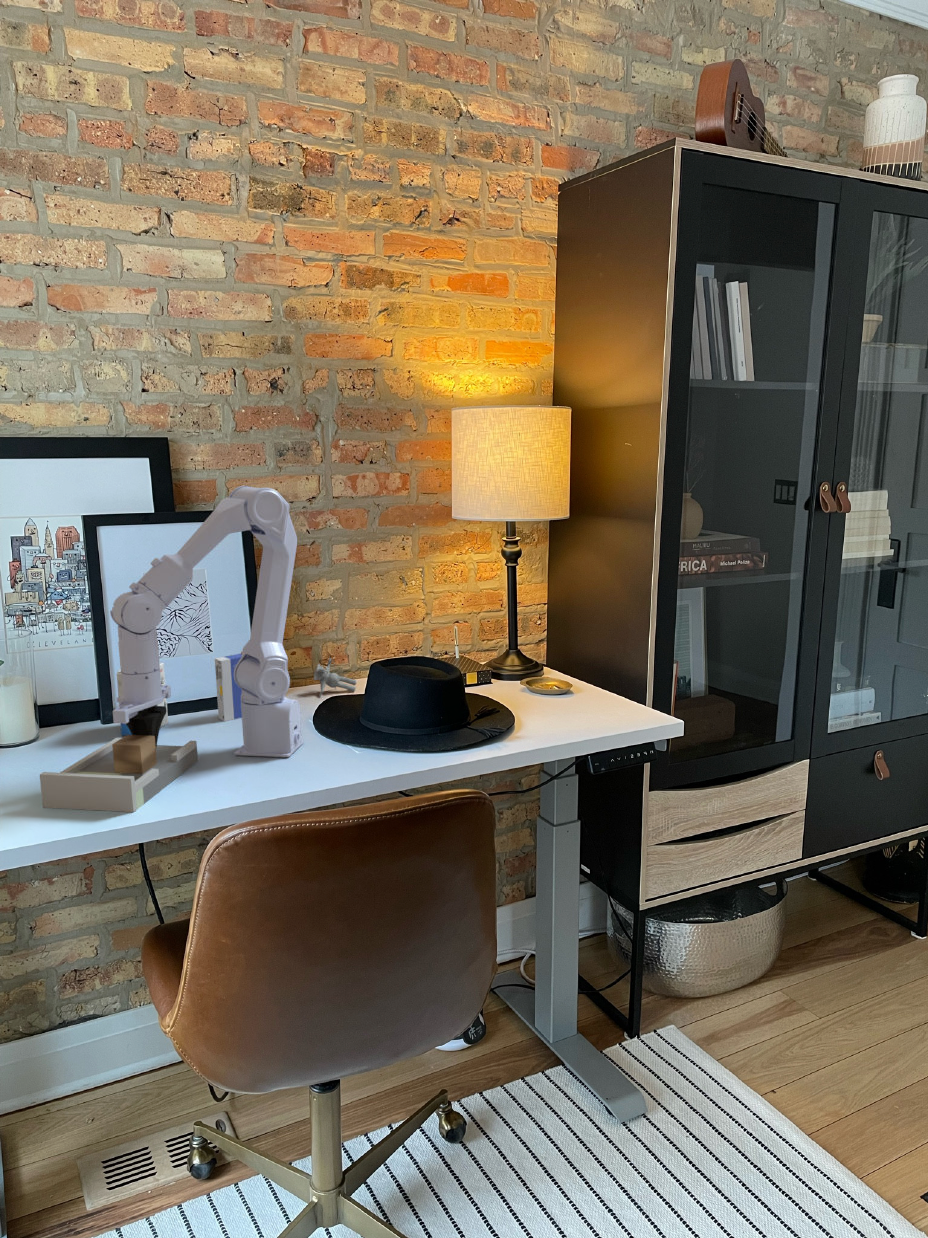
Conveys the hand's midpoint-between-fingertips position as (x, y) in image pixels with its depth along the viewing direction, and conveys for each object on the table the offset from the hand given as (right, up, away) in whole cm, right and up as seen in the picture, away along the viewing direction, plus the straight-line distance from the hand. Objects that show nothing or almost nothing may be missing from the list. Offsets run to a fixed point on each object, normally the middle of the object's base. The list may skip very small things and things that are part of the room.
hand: (147, 754), depth 145 cm
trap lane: (-2, -4, -2) cm, 5 cm away
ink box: (-8, +1, +24) cm, 25 cm away
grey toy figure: (+23, +6, +47) cm, 52 cm away
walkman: (+7, +3, +31) cm, 32 cm away
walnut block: (-1, -2, -4) cm, 4 cm away
